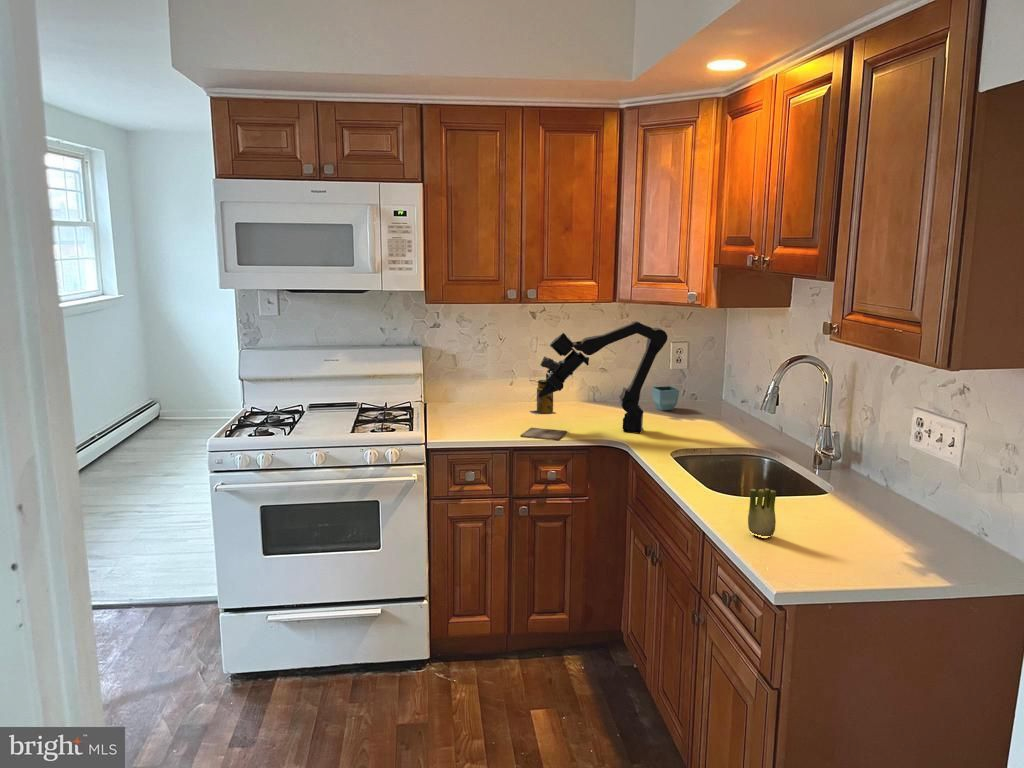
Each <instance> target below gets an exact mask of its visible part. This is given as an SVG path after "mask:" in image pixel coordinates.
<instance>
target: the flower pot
mask: <svg viewBox="0 0 1024 768" xmlns="http://www.w3.org/2000/svg"><path fill="white" fill-rule="evenodd" d="M651 393H652V400H653V403H654V405H655V407H656V409H658V410H660V411H662V410H663V411H673V410H674V409H675V407H677V404H678V401H679V396H680V389H678V388H676V387H674V386H672V385H671V386H669V385H665V386H652V387H651Z"/></svg>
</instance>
